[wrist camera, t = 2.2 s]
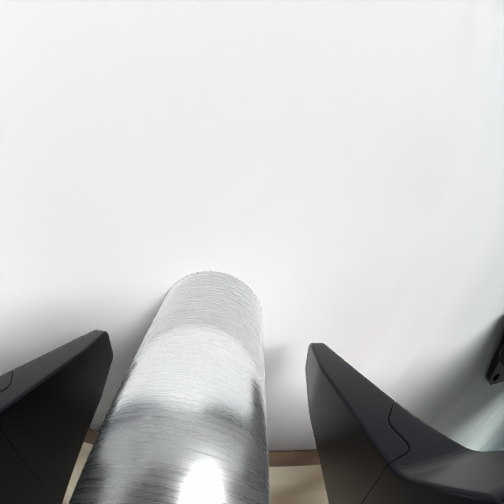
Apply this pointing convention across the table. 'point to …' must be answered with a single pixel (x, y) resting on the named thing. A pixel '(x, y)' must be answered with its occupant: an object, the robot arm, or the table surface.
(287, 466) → the bore block
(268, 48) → the table surface
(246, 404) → the pin
